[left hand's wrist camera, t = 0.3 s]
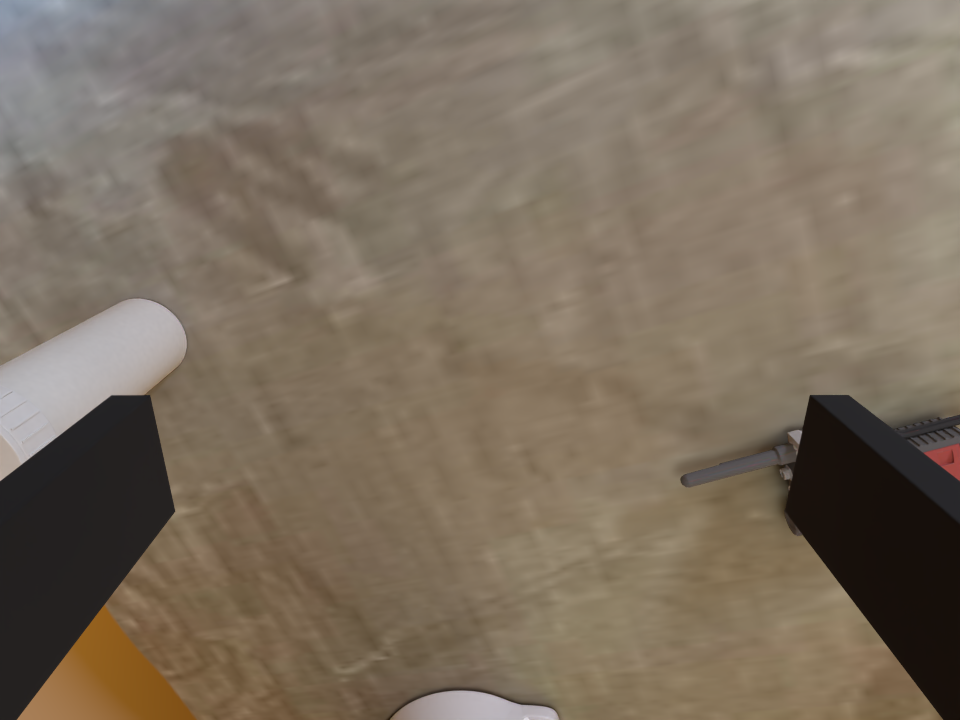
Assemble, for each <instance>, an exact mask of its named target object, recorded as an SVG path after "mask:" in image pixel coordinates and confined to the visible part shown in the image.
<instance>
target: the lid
mask: <svg viewBox="0 0 960 720" xmlns="http://www.w3.org/2000/svg"><path fill="white" fill-rule="evenodd" d="M55 438H57V435H56V432H55V430H54V429H53V427H52V425H51V423H50V422H49V420H48V419H47V418H46V416H45V415H44V414H43V413H42V412H41V411H40V410H39V409H38V408H37V407H36V406H35V405H34V404H33V403H31V402H30V401H29V400H27V399H26V398H25V397H23V396H21V395H20V394H18V393H16V392H14V391H12V390H10V389H8V388H6V387H3V386H0V481H1V480H2V479H3V478H5V477H6V476H7V475H9V474H10V473H11V472H13V471H14V470H15V469H16V468H18V467H19V466H20V465H22V464H23V463H24V462H26V461H27V460H28V459H29V458H31V457H32V456H33V455H35V454H36V453H37V452H38V451H40V450H41V449H42V448H44V447H45V446H46V445H48V444H49V443H50V442H51V441H53V440H54V439H55Z"/></svg>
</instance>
